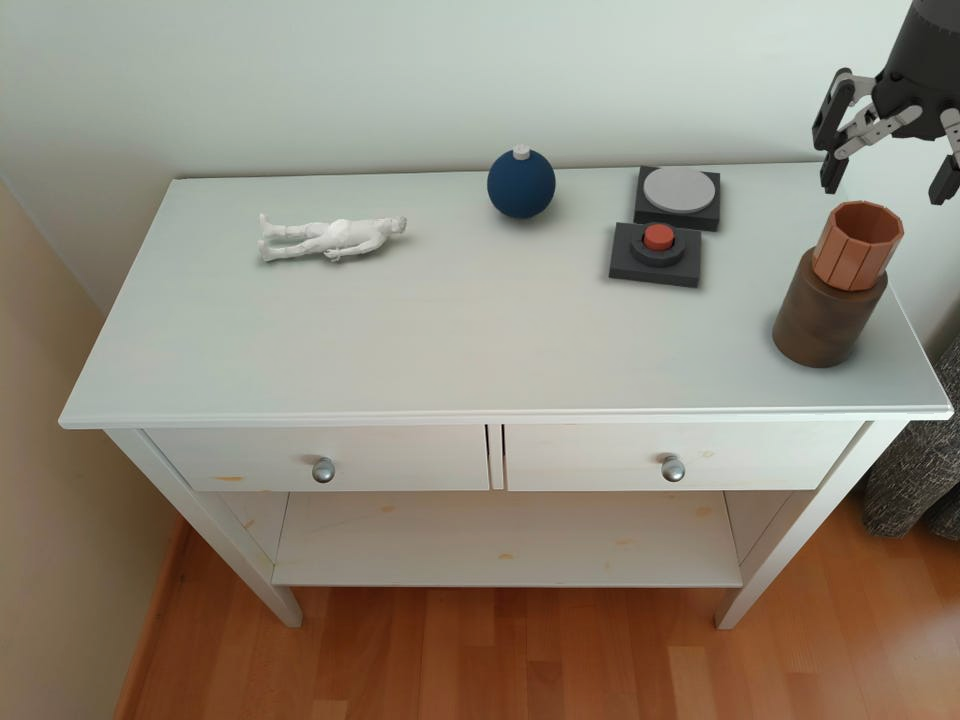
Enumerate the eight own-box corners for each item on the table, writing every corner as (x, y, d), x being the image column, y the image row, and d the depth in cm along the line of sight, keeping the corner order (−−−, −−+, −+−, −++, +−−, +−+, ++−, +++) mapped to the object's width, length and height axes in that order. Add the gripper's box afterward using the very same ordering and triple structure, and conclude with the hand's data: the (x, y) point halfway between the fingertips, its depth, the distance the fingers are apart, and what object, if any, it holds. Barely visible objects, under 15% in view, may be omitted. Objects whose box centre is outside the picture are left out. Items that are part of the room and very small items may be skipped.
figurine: (259, 212, 89) (405, 189, 89) (270, 235, 93) (411, 213, 92) (255, 254, 85) (408, 231, 85) (267, 277, 89) (414, 255, 88)
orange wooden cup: (873, 252, 72) (898, 203, 67) (881, 298, 68) (908, 250, 63) (808, 245, 73) (828, 196, 68) (812, 290, 69) (833, 242, 64)
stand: (847, 315, 80) (882, 247, 72) (854, 373, 75) (893, 306, 67) (770, 306, 81) (797, 238, 73) (773, 362, 76) (802, 295, 68)
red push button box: (698, 241, 88) (703, 221, 86) (696, 288, 83) (702, 269, 81) (615, 231, 90) (617, 212, 87) (608, 277, 85) (611, 258, 83)
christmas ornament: (531, 182, 96) (532, 114, 89) (567, 217, 92) (572, 149, 84) (476, 204, 94) (472, 137, 86) (510, 242, 89) (509, 174, 82)
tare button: (672, 234, 85) (674, 225, 84) (671, 253, 83) (673, 244, 82) (644, 231, 86) (646, 222, 85) (642, 250, 84) (644, 241, 83)
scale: (716, 185, 95) (721, 168, 92) (716, 231, 89) (720, 215, 87) (638, 178, 96) (641, 161, 94) (632, 222, 91) (635, 206, 89)
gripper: (870, 24, 49) (796, 213, 62) (1105, 39, 47) (979, 232, 60) (858, -26, 54) (792, 159, 66) (1072, -14, 52) (961, 175, 64)
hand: (880, 193), depth 63 cm, fingers open, 8 cm apart
